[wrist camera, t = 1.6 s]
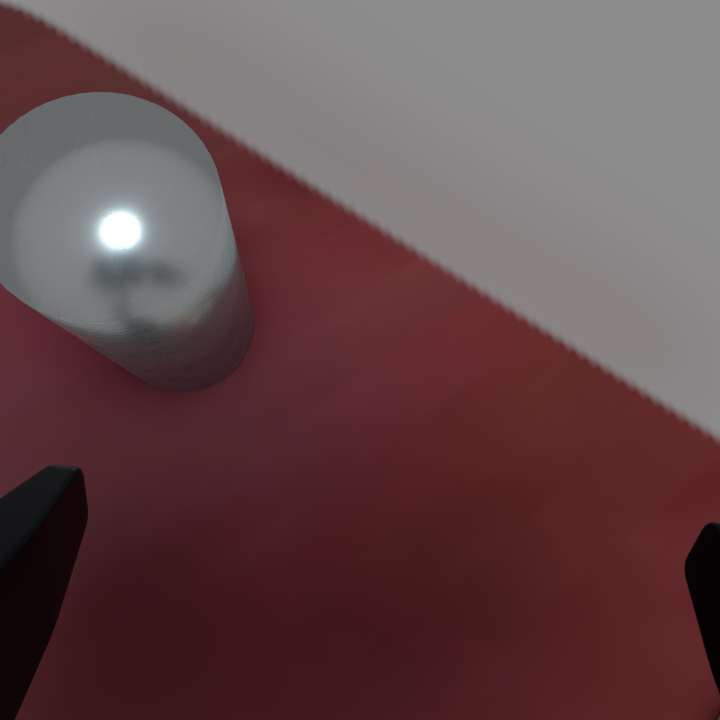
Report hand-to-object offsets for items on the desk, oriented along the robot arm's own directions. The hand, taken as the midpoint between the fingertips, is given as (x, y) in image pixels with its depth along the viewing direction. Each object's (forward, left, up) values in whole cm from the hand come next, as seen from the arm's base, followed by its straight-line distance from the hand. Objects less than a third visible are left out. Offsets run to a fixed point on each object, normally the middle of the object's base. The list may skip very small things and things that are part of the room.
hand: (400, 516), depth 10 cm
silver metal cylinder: (-1, +8, -14) cm, 16 cm away
